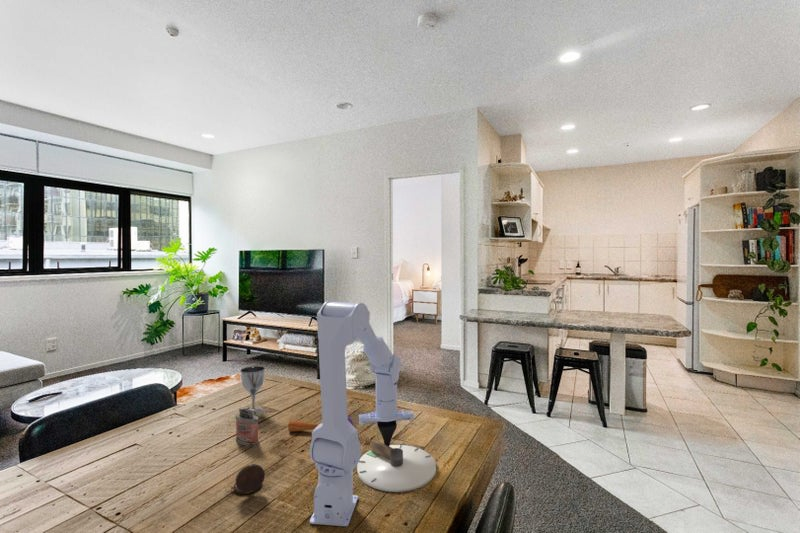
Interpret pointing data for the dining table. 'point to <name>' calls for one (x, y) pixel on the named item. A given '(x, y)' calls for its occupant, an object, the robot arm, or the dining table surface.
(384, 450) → the tuning pointer
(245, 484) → the compass
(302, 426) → the kendama
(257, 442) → the lighter
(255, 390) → the wine glass
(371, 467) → the gauge dial
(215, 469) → the dining table surface
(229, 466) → the dining table surface
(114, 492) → the dining table surface
